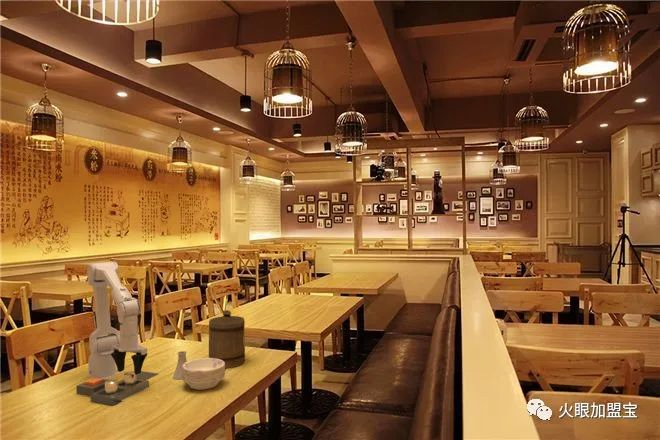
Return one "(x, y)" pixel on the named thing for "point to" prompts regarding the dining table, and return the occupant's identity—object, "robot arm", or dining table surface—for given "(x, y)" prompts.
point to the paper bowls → (203, 372)
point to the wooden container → (227, 339)
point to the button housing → (89, 388)
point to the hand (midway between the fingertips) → (129, 372)
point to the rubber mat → (145, 375)
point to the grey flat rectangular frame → (122, 393)
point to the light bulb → (111, 387)
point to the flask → (180, 365)
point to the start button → (94, 382)
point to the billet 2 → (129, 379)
